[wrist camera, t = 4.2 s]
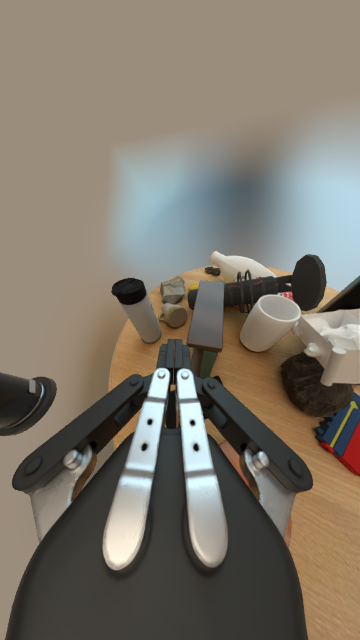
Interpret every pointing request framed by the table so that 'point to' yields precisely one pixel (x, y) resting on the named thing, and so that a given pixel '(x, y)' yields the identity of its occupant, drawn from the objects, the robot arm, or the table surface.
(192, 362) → the window frame
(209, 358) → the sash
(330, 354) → the white plastic housing
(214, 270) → the corroded twin loop
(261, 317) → the cup
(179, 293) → the stone
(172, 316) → the mug
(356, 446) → the toy gun
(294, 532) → the table surface
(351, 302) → the wine bottle
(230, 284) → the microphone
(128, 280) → the travel mug
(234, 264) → the bottle
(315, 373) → the rock
